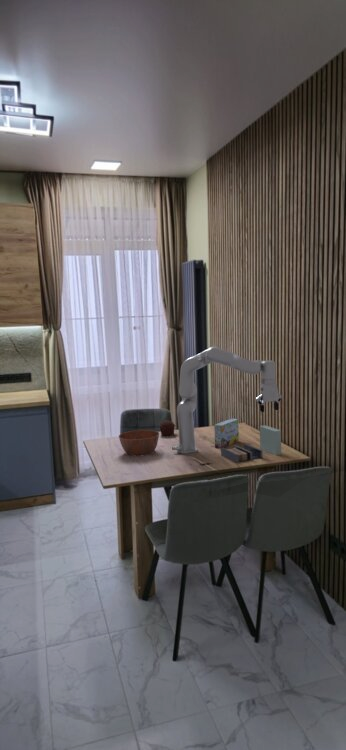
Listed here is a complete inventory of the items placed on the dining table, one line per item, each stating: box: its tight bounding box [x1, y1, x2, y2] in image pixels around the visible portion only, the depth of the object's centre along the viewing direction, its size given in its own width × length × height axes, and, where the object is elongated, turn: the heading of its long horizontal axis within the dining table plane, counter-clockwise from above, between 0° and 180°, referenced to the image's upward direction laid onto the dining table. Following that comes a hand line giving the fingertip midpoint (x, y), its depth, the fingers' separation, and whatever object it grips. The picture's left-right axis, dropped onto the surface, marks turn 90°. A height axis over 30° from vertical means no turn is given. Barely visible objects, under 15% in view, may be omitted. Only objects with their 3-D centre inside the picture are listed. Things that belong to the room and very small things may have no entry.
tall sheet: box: [259, 425, 282, 456], centre depth 302 cm, size 4×16×15 cm, turn 24°
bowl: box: [118, 429, 160, 457], centre depth 317 cm, size 25×25×11 cm
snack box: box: [213, 418, 240, 449], centre depth 325 cm, size 21×6×15 cm, turn 143°
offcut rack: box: [220, 443, 264, 464], centre depth 294 cm, size 17×18×6 cm
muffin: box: [158, 420, 176, 437], centre depth 359 cm, size 12×11×10 cm
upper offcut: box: [226, 447, 247, 458], centre depth 293 cm, size 6×14×2 cm, turn 23°
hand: (269, 410), depth 299 cm, fingers open, 9 cm apart
